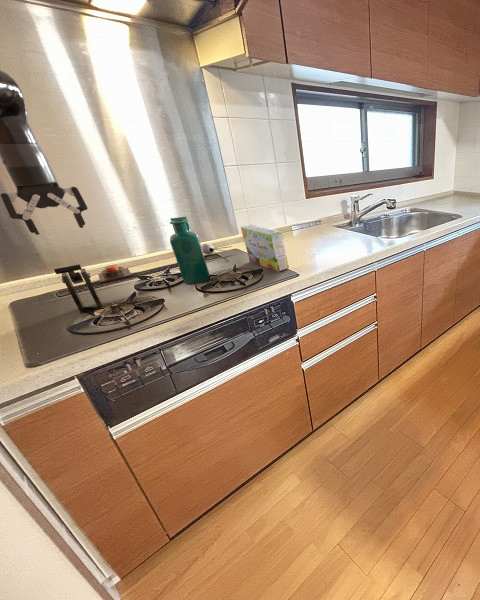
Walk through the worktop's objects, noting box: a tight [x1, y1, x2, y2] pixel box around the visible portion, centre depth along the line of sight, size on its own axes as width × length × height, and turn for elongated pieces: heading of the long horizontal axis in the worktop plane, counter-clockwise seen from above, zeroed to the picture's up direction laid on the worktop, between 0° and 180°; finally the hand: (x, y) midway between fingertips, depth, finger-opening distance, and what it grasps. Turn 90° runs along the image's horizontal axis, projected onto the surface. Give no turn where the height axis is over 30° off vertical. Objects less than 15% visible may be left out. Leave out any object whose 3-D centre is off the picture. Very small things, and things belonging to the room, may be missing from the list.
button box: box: [97, 266, 133, 284], centre depth 120 cm, size 11×9×4 cm
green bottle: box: [169, 216, 211, 285], centre depth 115 cm, size 10×8×22 cm
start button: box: [104, 264, 119, 272], centre depth 119 cm, size 4×4×2 cm
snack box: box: [240, 224, 290, 273], centre depth 129 cm, size 21×6×15 cm, turn 53°
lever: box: [53, 263, 85, 285], centre depth 89 cm, size 12×5×2 cm, turn 42°
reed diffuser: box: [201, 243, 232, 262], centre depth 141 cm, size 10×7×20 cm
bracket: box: [60, 267, 103, 314], centre depth 95 cm, size 10×9×13 cm
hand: (60, 230), depth 85 cm, fingers open, 8 cm apart
